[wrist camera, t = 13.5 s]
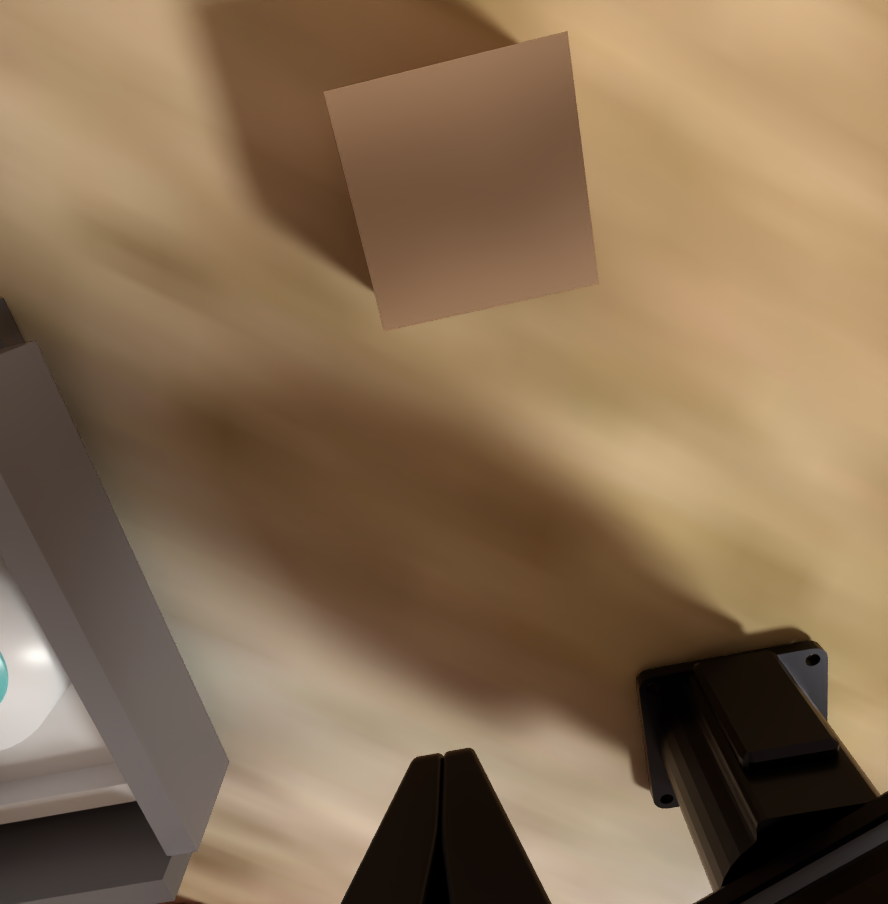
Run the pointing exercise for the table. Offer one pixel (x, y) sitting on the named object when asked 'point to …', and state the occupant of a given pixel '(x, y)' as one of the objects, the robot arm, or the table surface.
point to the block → (468, 181)
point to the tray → (93, 636)
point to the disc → (24, 666)
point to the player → (84, 836)
